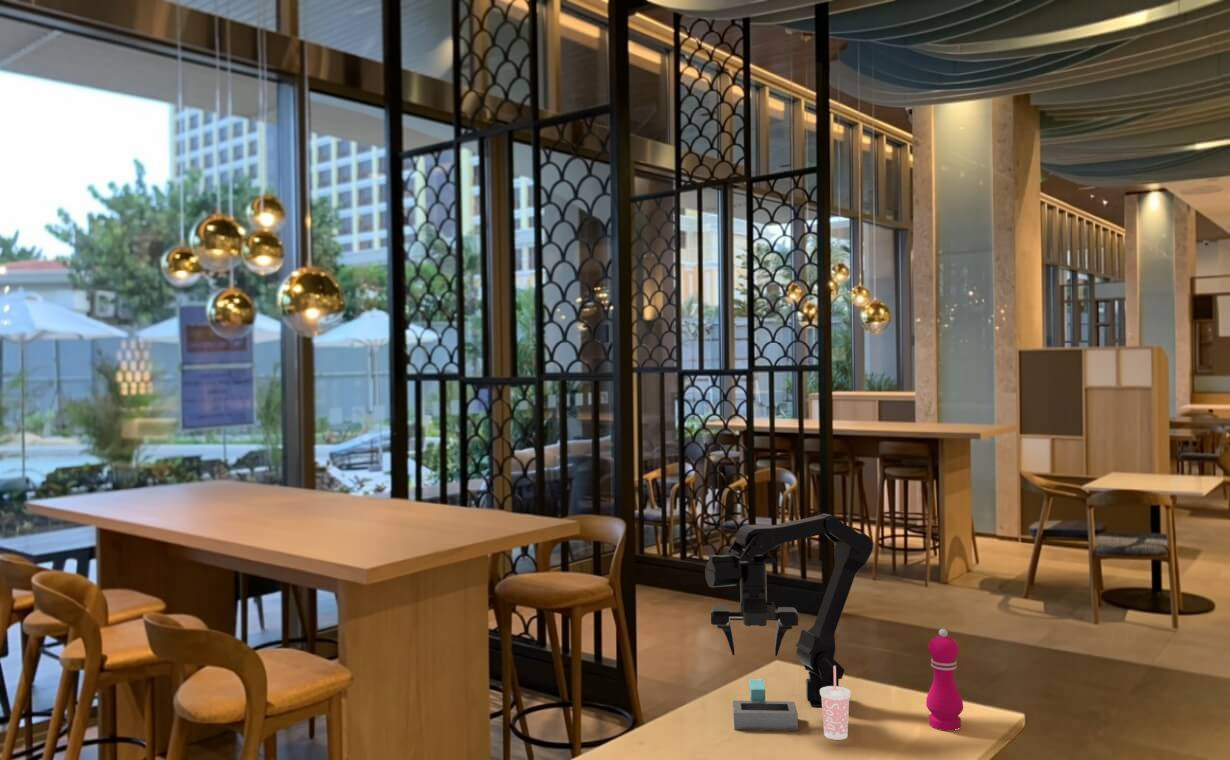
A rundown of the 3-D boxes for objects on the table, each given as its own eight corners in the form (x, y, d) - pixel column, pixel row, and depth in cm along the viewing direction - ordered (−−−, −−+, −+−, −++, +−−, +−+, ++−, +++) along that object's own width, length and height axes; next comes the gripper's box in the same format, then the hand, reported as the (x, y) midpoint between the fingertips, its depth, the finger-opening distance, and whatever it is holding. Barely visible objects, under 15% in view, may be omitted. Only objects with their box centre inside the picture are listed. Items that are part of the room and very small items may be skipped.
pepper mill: (964, 722, 190) (962, 626, 190) (962, 734, 183) (960, 634, 184) (928, 717, 193) (926, 623, 193) (924, 729, 186) (922, 631, 187)
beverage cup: (814, 734, 184) (812, 665, 185) (833, 727, 188) (832, 659, 188) (838, 743, 180) (836, 672, 180) (857, 736, 183) (856, 666, 183)
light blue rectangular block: (749, 704, 203) (749, 679, 203) (763, 704, 203) (763, 679, 203) (751, 715, 196) (751, 689, 196) (765, 715, 196) (765, 689, 196)
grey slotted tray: (794, 718, 194) (794, 701, 194) (798, 730, 186) (797, 713, 187) (733, 716, 195) (732, 700, 195) (734, 729, 188) (734, 712, 188)
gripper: (710, 591, 192) (711, 665, 192) (799, 592, 190) (801, 667, 190) (710, 580, 203) (712, 650, 203) (795, 581, 201) (796, 651, 201)
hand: (754, 655), depth 199 cm, fingers open, 9 cm apart
